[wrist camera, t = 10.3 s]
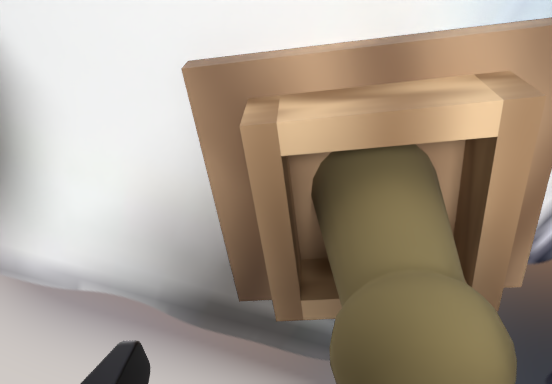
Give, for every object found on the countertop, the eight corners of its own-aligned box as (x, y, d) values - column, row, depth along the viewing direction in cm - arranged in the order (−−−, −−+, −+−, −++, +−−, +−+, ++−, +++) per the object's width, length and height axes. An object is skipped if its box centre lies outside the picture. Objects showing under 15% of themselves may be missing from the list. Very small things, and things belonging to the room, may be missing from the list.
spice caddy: (241, 286, 26) (232, 343, 22) (188, 61, 19) (161, 92, 15) (512, 271, 24) (548, 331, 21) (572, 15, 17) (644, 38, 13)
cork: (384, 256, 22) (442, 488, 13) (288, 207, 21) (276, 427, 12) (465, 173, 19) (613, 396, 10) (359, 110, 18) (418, 300, 9)
